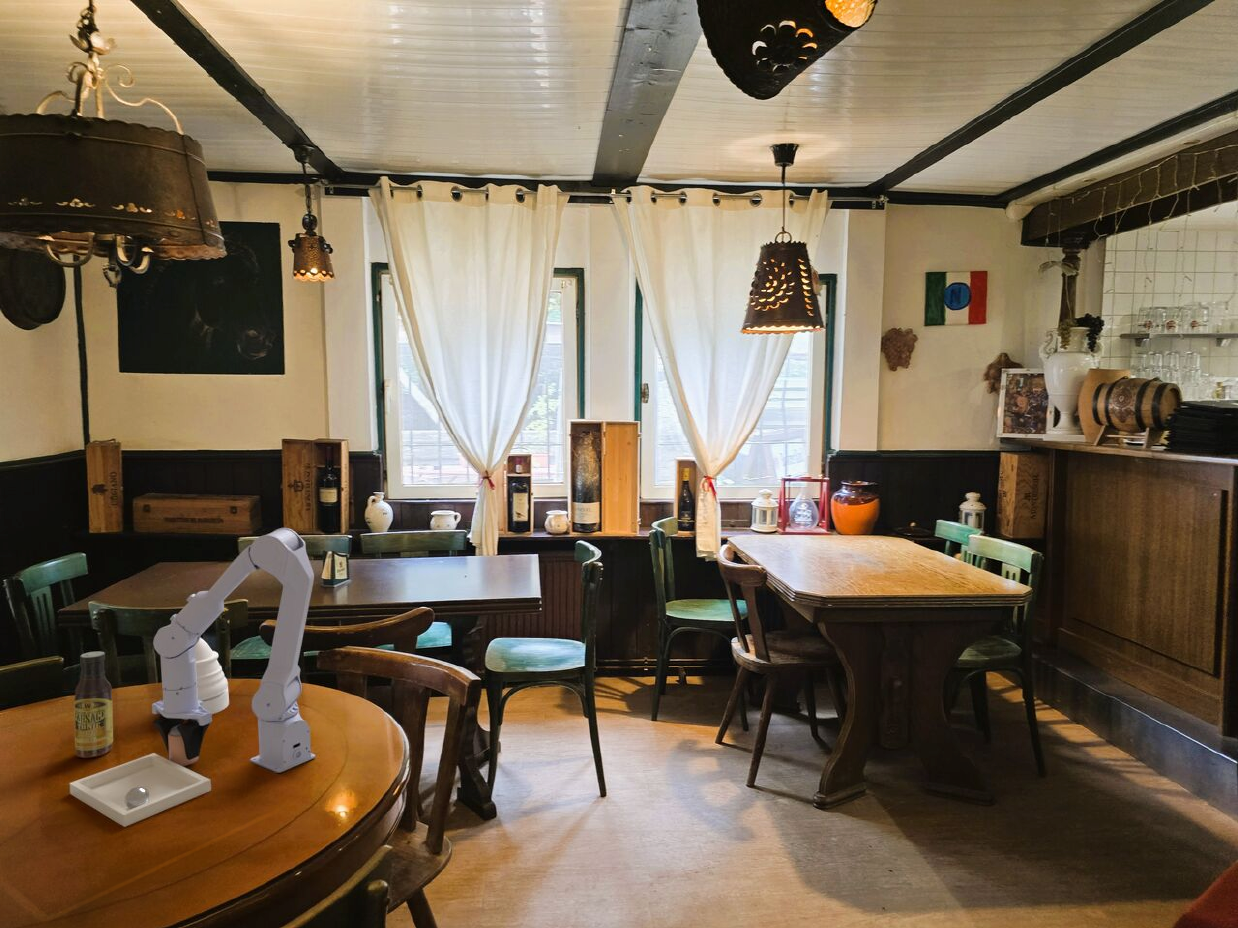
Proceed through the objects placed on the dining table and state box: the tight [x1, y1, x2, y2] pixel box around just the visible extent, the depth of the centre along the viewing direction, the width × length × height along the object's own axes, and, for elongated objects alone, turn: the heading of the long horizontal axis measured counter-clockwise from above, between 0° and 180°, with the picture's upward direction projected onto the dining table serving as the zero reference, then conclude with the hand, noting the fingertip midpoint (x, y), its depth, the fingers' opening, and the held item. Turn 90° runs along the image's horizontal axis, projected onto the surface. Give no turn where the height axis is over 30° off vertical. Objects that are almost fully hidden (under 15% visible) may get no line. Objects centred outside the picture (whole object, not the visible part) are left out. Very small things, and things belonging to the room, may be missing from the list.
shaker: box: [168, 725, 200, 767], centre depth 148 cm, size 5×5×7 cm
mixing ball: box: [125, 787, 149, 809], centre depth 130 cm, size 4×4×4 cm
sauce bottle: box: [73, 651, 114, 759], centre depth 153 cm, size 6×6×20 cm
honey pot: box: [195, 637, 230, 715], centre depth 175 cm, size 13×13×18 cm
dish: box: [69, 752, 212, 828], centre depth 136 cm, size 20×14×2 cm
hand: (183, 754), depth 148 cm, fingers closed on shaker, 5 cm apart
